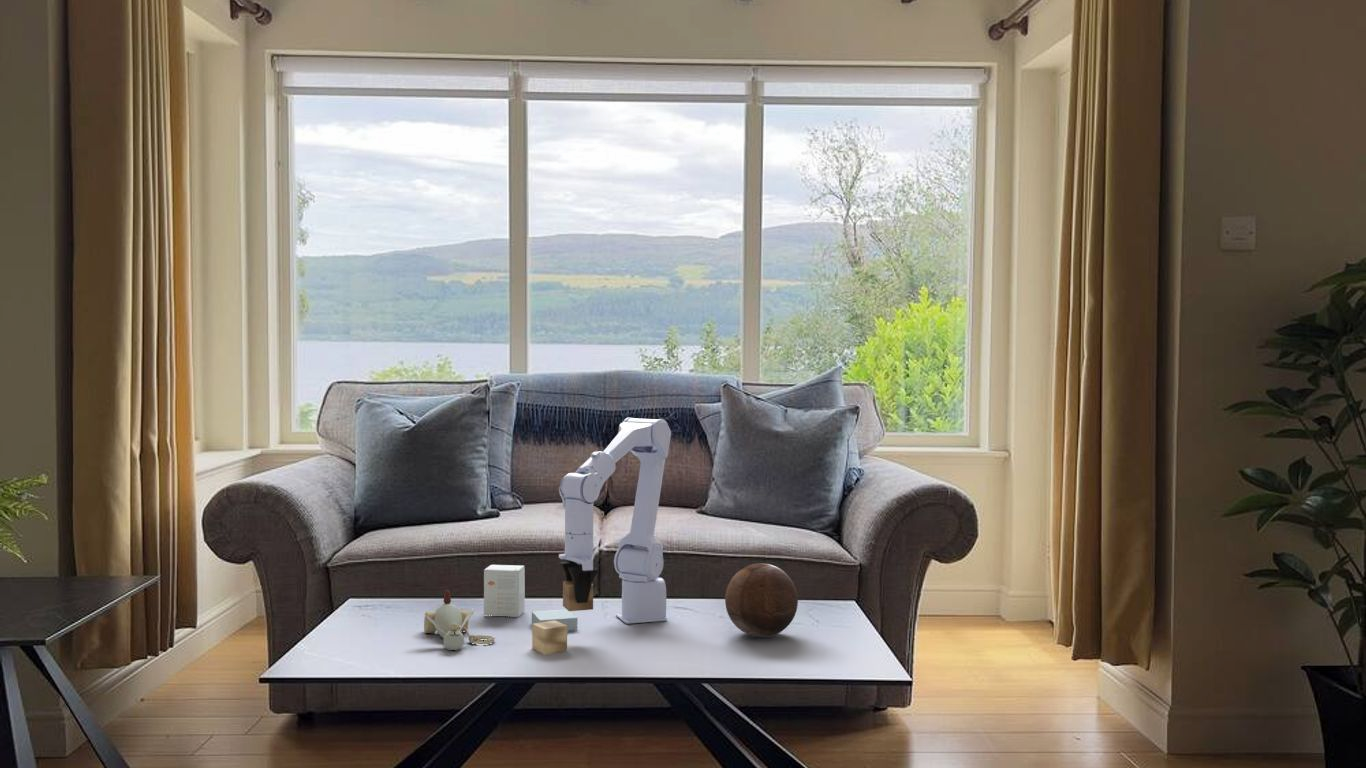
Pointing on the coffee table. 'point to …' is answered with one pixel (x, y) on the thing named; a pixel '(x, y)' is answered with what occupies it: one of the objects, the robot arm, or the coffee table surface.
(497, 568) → the small box
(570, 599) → the walnut cube
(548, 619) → the slab
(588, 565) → the robot arm
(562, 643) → the oak cube
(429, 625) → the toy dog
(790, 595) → the wooden sphere
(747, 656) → the coffee table surface
